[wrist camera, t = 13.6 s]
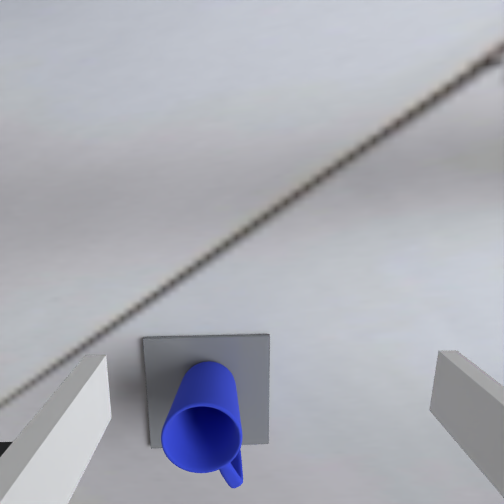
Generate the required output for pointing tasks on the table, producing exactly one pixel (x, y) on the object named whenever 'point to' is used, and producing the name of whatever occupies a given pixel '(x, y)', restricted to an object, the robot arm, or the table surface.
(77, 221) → the table surface
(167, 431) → the mug
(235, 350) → the coaster
